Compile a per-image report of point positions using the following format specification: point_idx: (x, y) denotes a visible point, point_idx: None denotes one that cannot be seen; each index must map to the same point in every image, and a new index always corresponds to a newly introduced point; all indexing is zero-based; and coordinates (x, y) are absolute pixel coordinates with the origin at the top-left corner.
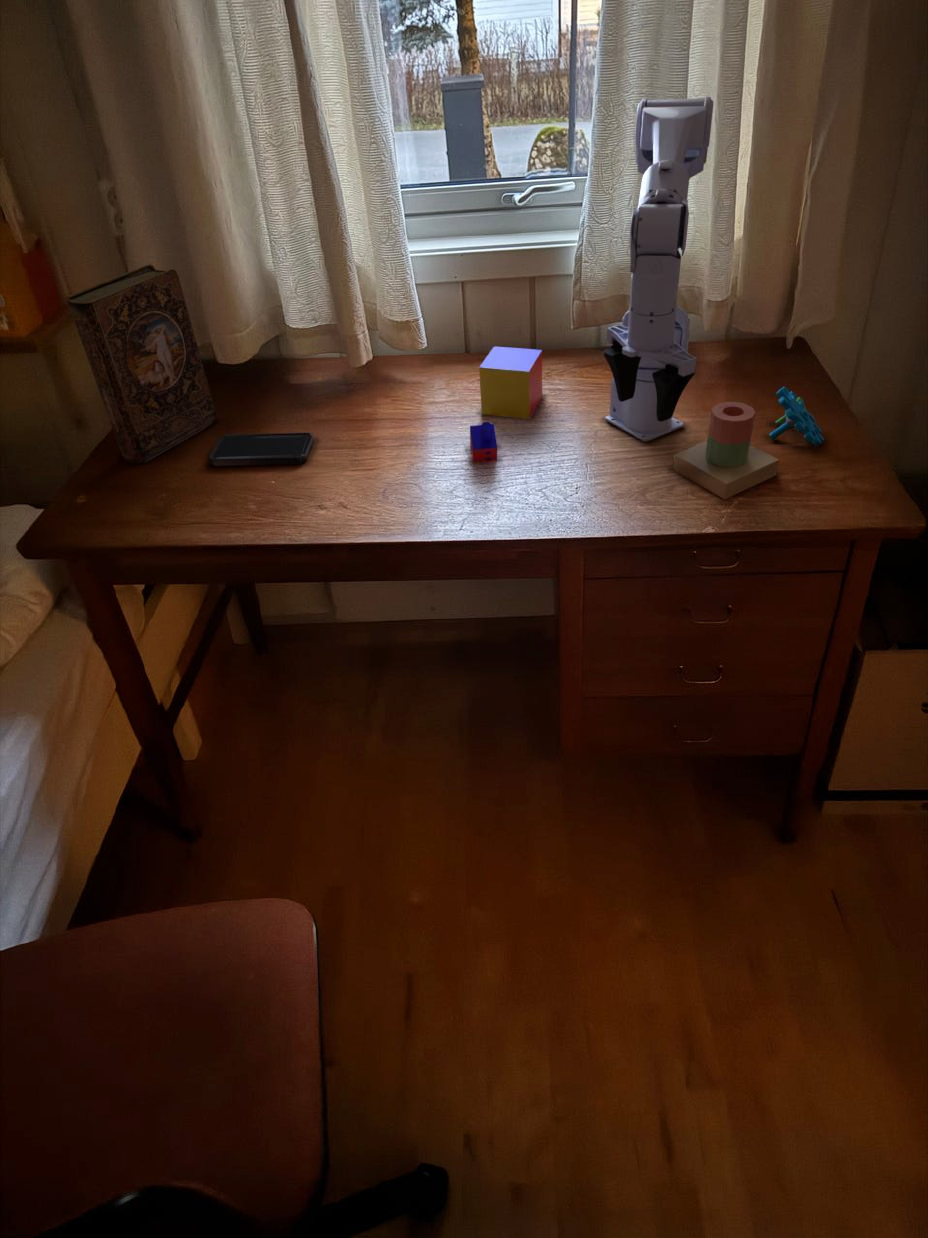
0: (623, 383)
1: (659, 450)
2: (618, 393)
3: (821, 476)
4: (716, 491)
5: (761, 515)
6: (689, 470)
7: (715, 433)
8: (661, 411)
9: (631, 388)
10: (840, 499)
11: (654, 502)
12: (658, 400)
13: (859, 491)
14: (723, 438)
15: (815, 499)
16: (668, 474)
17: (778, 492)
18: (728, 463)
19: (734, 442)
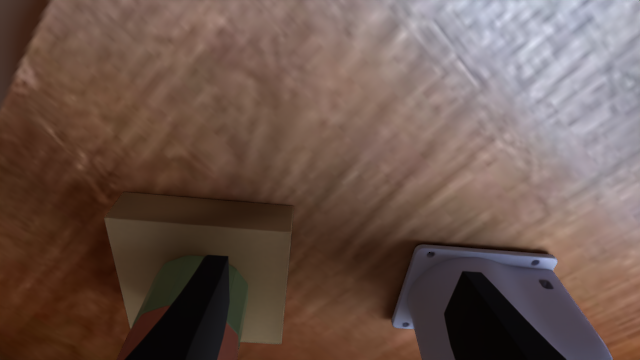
0: (498, 353)
1: (372, 241)
2: (494, 295)
3: (101, 340)
4: (147, 198)
5: (29, 196)
6: (236, 215)
7: None
8: (181, 292)
9: (461, 346)
10: (18, 313)
11: (210, 70)
12: (179, 339)
13: (29, 342)
14: (152, 320)
15: (37, 291)
16: (286, 186)
17: (92, 271)
18: (160, 272)
19: (136, 323)
